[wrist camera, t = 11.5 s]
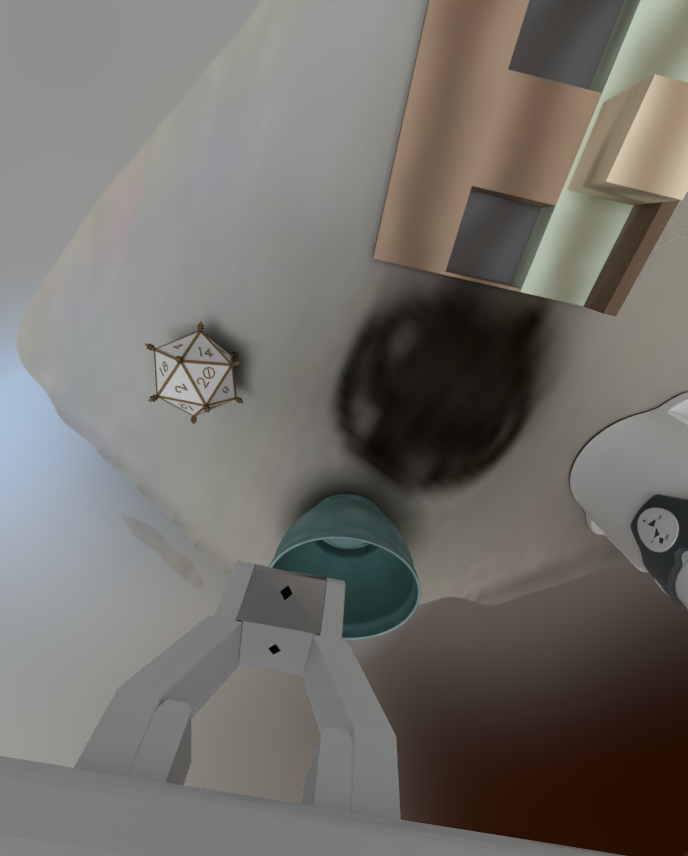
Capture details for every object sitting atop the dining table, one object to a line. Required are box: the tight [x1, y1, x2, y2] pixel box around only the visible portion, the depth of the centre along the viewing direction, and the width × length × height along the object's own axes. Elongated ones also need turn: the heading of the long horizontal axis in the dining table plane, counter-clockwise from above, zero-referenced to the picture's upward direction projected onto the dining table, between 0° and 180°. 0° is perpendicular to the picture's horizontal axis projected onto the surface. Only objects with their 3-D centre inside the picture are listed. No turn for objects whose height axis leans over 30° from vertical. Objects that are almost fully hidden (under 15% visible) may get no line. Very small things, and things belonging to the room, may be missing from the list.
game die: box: [145, 322, 243, 424], centre depth 35 cm, size 9×8×10 cm
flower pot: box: [269, 494, 421, 640], centre depth 43 cm, size 16×16×11 cm
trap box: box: [373, 0, 688, 316], centre depth 26 cm, size 19×19×6 cm
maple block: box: [567, 74, 688, 205], centre depth 23 cm, size 5×5×5 cm
